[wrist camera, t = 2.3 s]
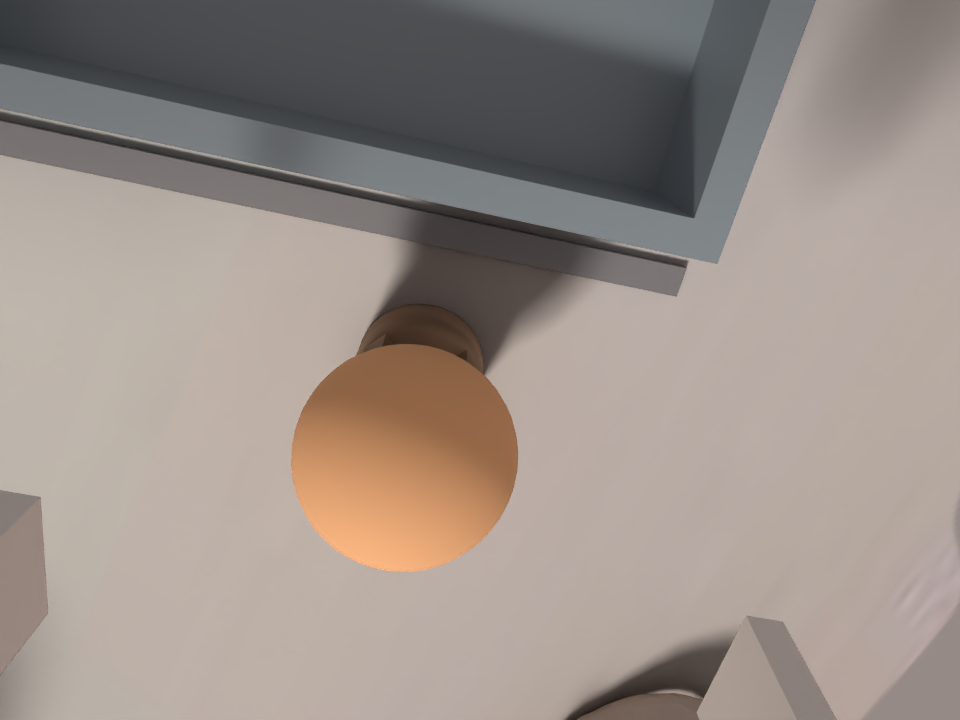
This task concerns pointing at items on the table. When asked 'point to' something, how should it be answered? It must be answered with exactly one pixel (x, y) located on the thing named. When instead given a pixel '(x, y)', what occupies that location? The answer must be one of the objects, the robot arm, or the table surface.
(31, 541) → the robot arm
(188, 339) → the table surface
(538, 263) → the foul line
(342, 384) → the ball
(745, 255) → the table surface
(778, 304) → the table surface
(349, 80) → the tray
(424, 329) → the tan knobbed round piece
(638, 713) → the anatomical model
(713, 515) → the table surface
